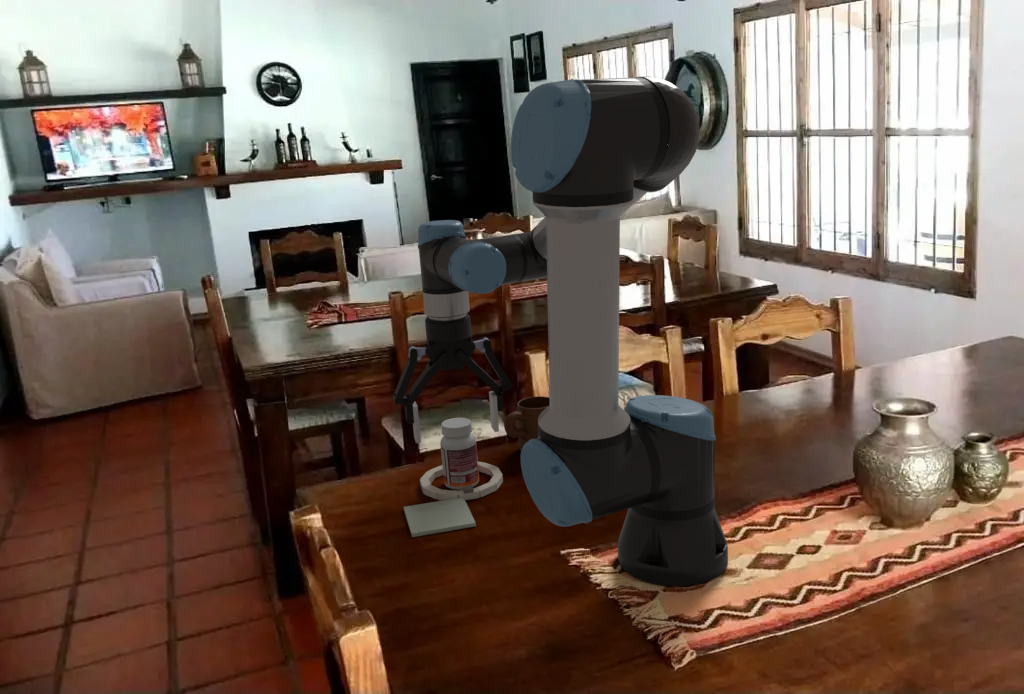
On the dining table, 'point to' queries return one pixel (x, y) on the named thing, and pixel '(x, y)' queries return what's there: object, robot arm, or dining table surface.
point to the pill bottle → (459, 454)
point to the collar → (467, 491)
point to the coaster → (438, 517)
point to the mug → (526, 419)
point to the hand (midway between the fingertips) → (456, 434)
